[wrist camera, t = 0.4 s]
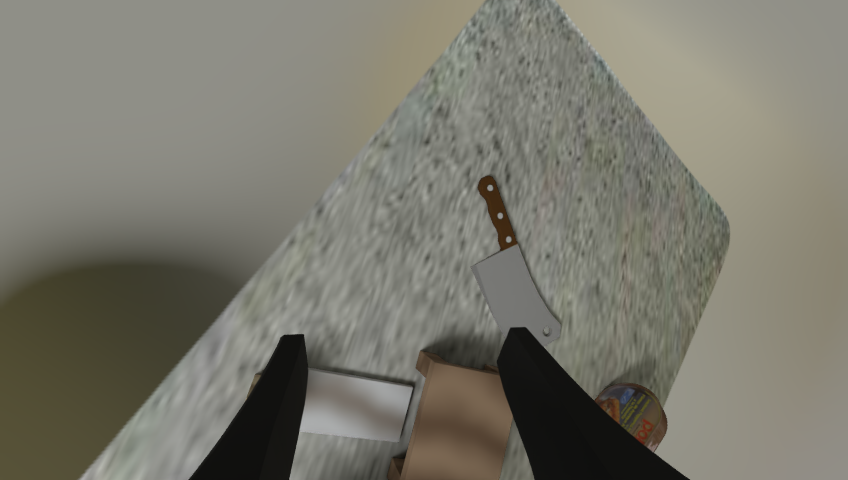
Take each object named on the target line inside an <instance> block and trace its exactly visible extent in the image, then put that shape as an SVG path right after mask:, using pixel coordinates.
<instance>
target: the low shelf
mask: <svg viewBox="0 0 848 480" xmlns="http://www.w3.org/2000/svg"><path fill="white" fill-rule="evenodd" d="M416 369H417V370H418V371H419V372H420V373H421V374H422V375H423V376H424V377H425V378H426V380H425V384H424V388H423V392H422V396H421V400H420V404H419V408H418V411H417V415H416V419H415V423H414V427H413V431H412V435H411V438H410V442H409V446H408V450H407V454H406V458H405V459H401V458H392V459H391V463H390V467H389V471H388V475H387V478H388V480H499V478H500V473H501V469H502V464H503V460H504V455H505V450H506V446H507V441H508V437H509V432H510V428H511V423H512V419H513V415H512V412H511V410H510V407H509V404H508V401H507V399H506V396H505V393H504V390H503V386H502V382H501V378H500V374H499V370H498V367H496V366H491V365H486V364H485V367H484V370H481V369H476V368H471V367H466V366H461V365H456V364H451V363H447V362H446V361H444V360H443V359H442V358H440V357H439V356H438V355H436V354H434V353H429V352H424V351H420V353H419V357H418V361H417V365H416Z"/></svg>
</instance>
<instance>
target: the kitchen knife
mask: <svg viewBox="0 0 848 480" xmlns="http://www.w3.org/2000/svg"><path fill="white" fill-rule="evenodd" d="M478 190H479V193H480V195H481V196H482V197H483V198H484V199H485V200H486V202H487V205H488V212H489V215H490V217H491V220H492V223H493V225H494V226H495V228H496V230H497V232H498V242H499V245H500V248H501V249H500V251H499V252H497V253H495V254H493V255H492V256H490V257H488V258H486V259H484V260H483V261H481V262H479V263H477V264H475V265H473V266H471V269H472V271H473V273H474V276H475V278H476V280H477V282H478V284H479V287H480V289H481V291H482V293H483V295H484V298H485V300H486V302H487V304H488V306H489V308H490V310H491V313H492V315H493V317H494V319H495V321H496V323H497V325H498V327H499V328H500V330H501V332H502V334H503V335H504V337H505V339H506V337H507V334H508V332H509V329H510V327H526V328H527V329H528V330H529V331H530V332H531V333H532V334H533V336H534V337H535V338H536V339H537V340H538V341H539V342H540V343H541V345H542V346H543V347H544V346H546V345H547V344H549V343H550V342H552V341H554V340H555V339H557V338H558V337H559V336H560V330H561V324H560V323H559V322H558V321H557V320H556V319H555V318H554V317H553V315H552V314H551V313H550V312H549V310H548V308H547V307H546V305H545V303H544V302H543V300H542V299H541V297H540V295H539V294H538V291H537V289H536V287H535V285H534V283H533V281H532V279H531V277H530V274H529V272H528V269H527V267H526V264H525V261H524V259H523V256H522V254H521V251H520V249H519V246H518V244H517V243H518V242H517V241H516V238H515V235H514V232H513V229H512V227H511V224H510V221H509V218H508V215H507V213H506V210H505V207H504V204H503V201H502V199H501V196H500V193H499V190H498V187H497V185H496V182H495V180H494V179H493V177H491V176H486V177H483V178H481V180H480V181H479V184H478ZM546 326H548V327H549V333H548V335H546V336H544V334H543V329H544V328H545V327H546Z"/></svg>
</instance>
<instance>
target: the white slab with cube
mask: <svg viewBox="0 0 848 480" xmlns="http://www.w3.org/2000/svg"><path fill="white" fill-rule="evenodd" d="M308 371H309V372H308V382H307V391H306V400H305V406H304V411H303V416H302V421H301V426H300V430H299V431H301V432H310V433H318V434H327V435H336V436H345V437H354V438H363V439H372V440H381V441H390V442H399V439H400V435H401V431H402V428H403V424H404V420H405V416H406V412H407V409H408V405H409V401H410V397H411V393H412V390H413V387H412V386H411V385H407V384H401V383H396V382H390V381H384V380H378V379H372V378H367V377H361V376H355V375H349V374H344V373H338V372H332V371H326V370H321V369H315V368H309V367H308ZM260 376H261V375H257V374H255V376H254V379H253V382H252V384H251V387H250V390H249V392H248V395H247V398H248V396H249V395H250V393H251V391H252V390H253V388H254V386H255V385H256V383H257V381H258V380H259V378H260ZM247 398H246V399H247Z"/></svg>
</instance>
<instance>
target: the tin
mask: <svg viewBox="0 0 848 480" xmlns="http://www.w3.org/2000/svg"><path fill="white" fill-rule="evenodd" d="M595 402H596V403H597V404H598V405H599V406H600V407H601V408H602V409H603V410H604V411H605V412H606V413H607V414H609V415H610V416H611V417H612V418H613V419H614V420H615V421H616V422H618V423H619V424H620V425H621V426H622V427H623V428H624V429H626V430H627V431H628V432H629V433H630V434H631V435H632V436H634V437H635V438H636V439H637V440H639V441H640V442H641V443H642V444H643V445H645V446H646V447H647V448H649V449H650V450H651V451H652V452H655V450H656V449H657V447H658V445H659V443H660V442H661V441H662V439H663V437H664V436H665V434H666V431H667V418H666V415H665V412H664V410H663V408H662V407H661V404H660V402H659V400H658V398H657V397H656V396H655V395H654V393H652V392H651V391H650V390H649V389H647V388H645V387H643V386H641V385H638V384H633V383H620V384H616V385H612V386H610V387H608V388H606V389H605V390H603V391H602V392H601V393H600V394H599V395H598V397H597V398H596V399H595Z"/></svg>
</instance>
